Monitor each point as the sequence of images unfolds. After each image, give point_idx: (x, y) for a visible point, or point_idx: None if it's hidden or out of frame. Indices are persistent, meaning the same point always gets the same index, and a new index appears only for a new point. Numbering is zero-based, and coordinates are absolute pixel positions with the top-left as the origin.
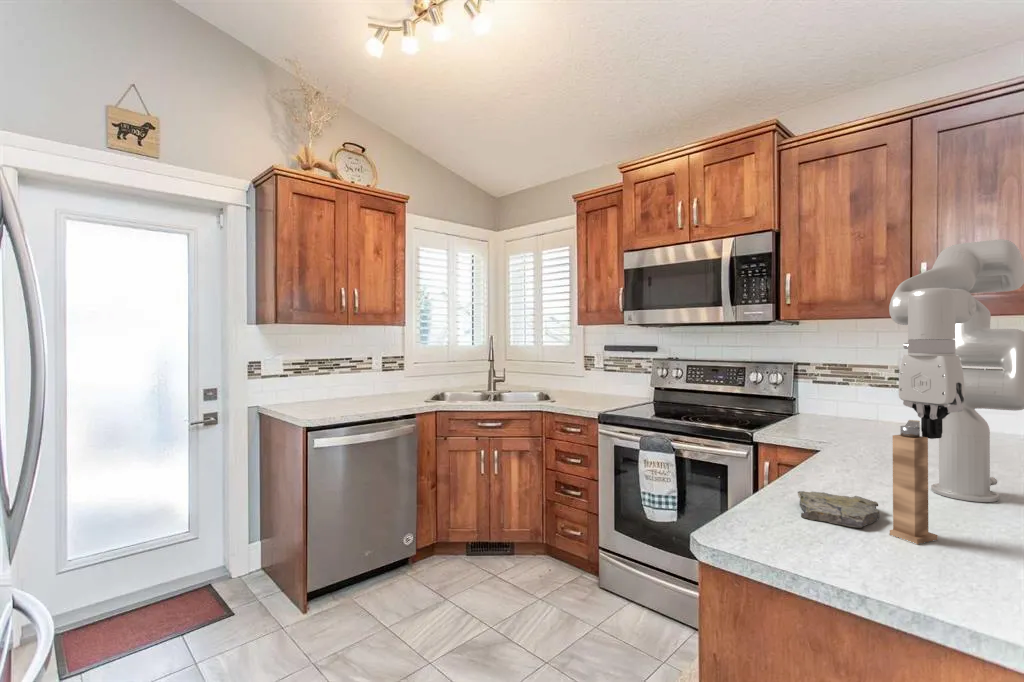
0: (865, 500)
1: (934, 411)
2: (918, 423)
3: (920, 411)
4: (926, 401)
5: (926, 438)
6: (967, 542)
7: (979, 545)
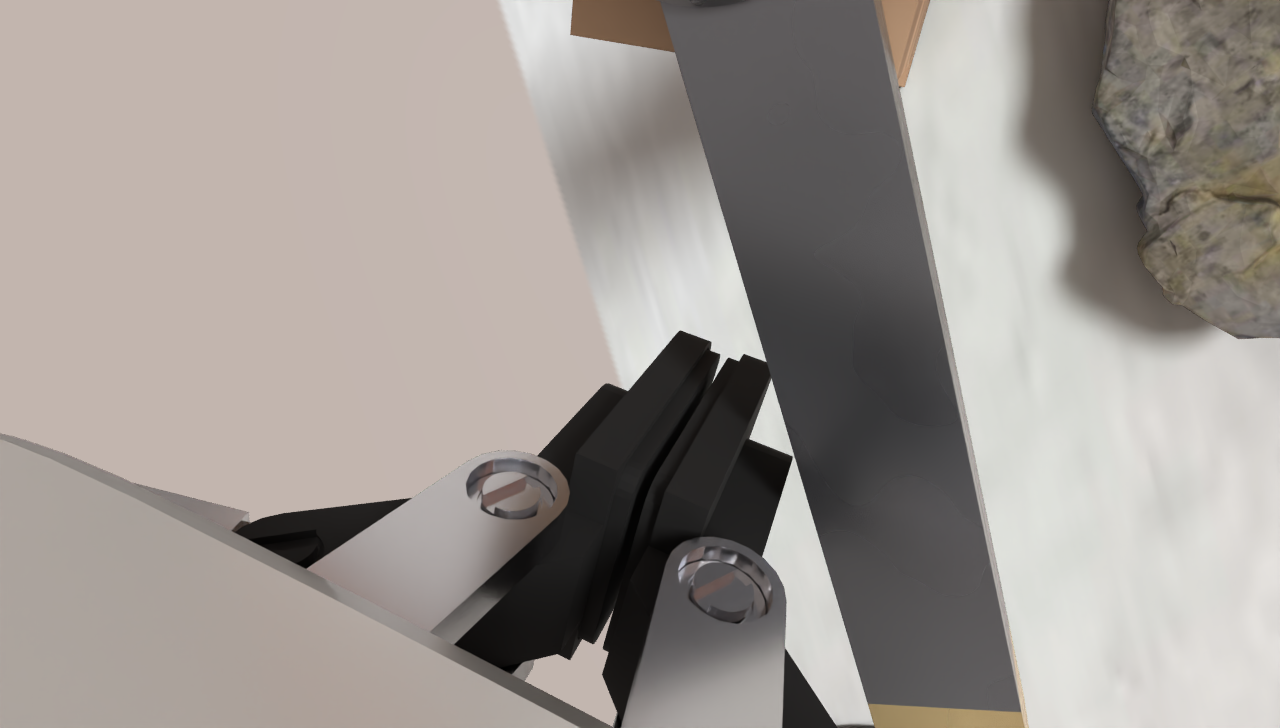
0: (1235, 240)
1: (423, 542)
2: (827, 557)
3: (709, 640)
4: (281, 621)
5: (580, 2)
6: (690, 160)
7: (652, 162)
